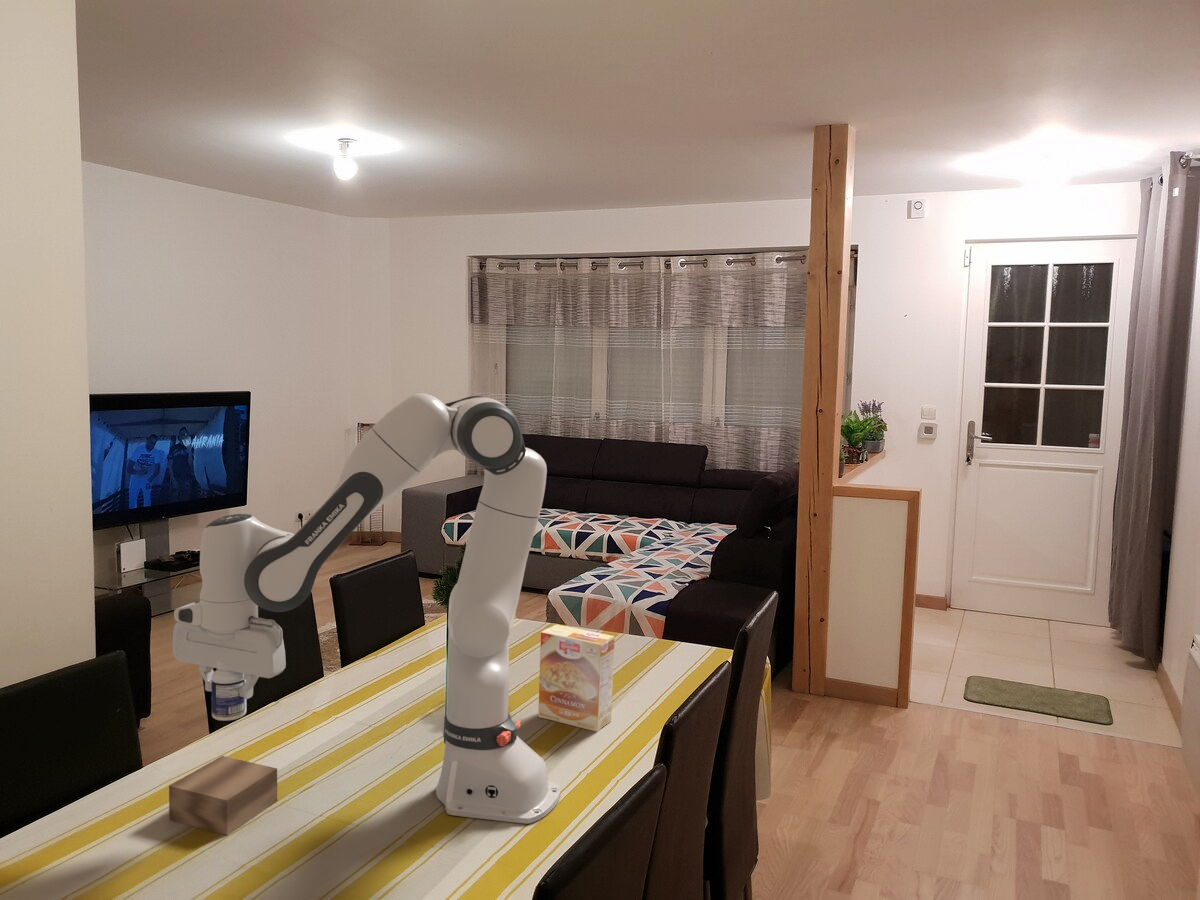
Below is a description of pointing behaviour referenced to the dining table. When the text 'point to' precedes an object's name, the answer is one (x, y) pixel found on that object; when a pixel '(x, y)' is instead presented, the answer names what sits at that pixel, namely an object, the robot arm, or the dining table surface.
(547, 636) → the coffeecake box
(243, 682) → the pill bottle
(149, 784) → the dining table surface
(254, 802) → the walnut riser
